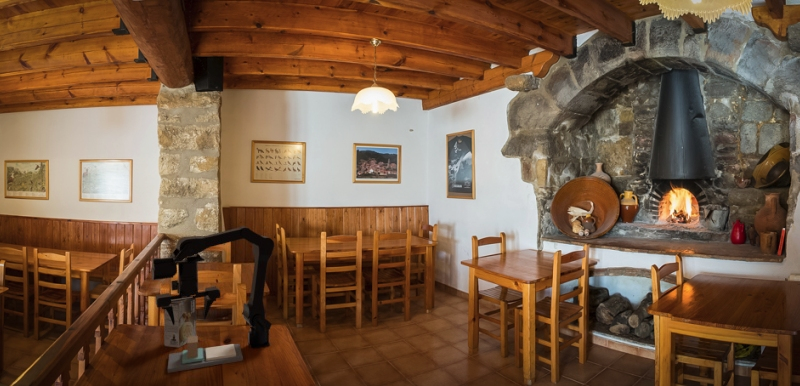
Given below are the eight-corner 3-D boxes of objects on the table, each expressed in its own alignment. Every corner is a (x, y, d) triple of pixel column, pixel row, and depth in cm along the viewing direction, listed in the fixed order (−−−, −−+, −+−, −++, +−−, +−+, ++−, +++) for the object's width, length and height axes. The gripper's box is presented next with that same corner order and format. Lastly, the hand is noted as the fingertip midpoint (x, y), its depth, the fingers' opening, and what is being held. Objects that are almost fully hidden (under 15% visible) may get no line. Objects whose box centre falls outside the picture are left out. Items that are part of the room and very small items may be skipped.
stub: (202, 350, 144) (202, 333, 144) (203, 360, 136) (203, 342, 136) (182, 352, 142) (182, 335, 142) (182, 363, 134) (182, 345, 133)
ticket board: (239, 347, 151) (239, 341, 151) (242, 360, 140) (242, 354, 140) (169, 357, 141) (169, 351, 141) (167, 372, 131) (167, 366, 131)
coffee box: (181, 336, 160) (181, 294, 159) (196, 338, 158) (196, 296, 158) (163, 346, 151) (163, 301, 150) (179, 348, 149) (179, 303, 149)
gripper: (213, 267, 151) (214, 310, 151) (153, 274, 140) (154, 320, 141) (220, 273, 141) (221, 319, 142) (156, 281, 131) (157, 330, 132)
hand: (189, 321), depth 139 cm, fingers open, 9 cm apart
